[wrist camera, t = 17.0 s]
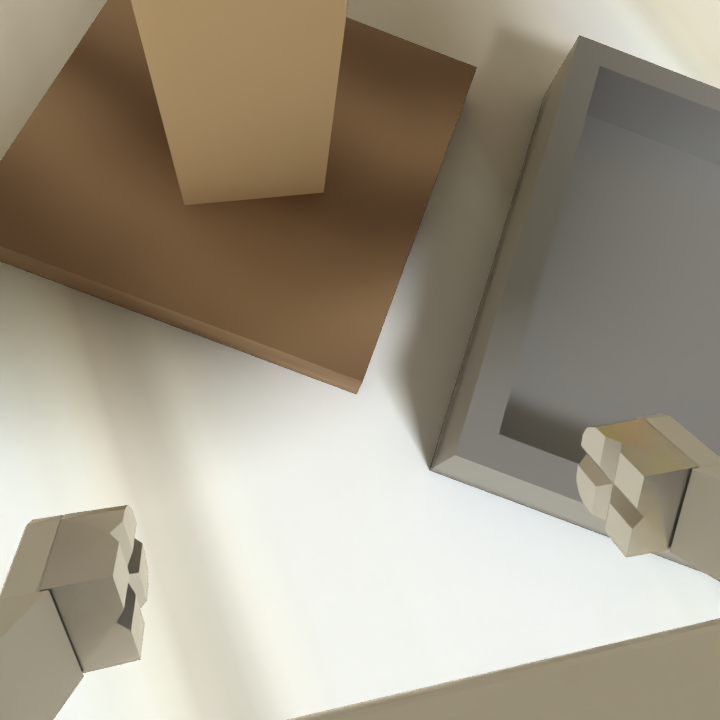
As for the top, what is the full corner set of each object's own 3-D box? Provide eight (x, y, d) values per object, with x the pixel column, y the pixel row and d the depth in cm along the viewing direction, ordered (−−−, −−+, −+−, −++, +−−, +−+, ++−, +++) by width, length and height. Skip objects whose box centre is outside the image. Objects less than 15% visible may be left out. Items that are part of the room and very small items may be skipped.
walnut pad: (155, -23, 24) (147, -59, 23) (465, 95, 24) (476, 67, 23) (-22, 252, 20) (-45, 229, 18) (356, 394, 20) (362, 381, 19)
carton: (170, 84, 21) (110, -182, 13) (301, 77, 22) (314, -179, 14) (184, 205, 20) (126, -16, 12) (323, 192, 20) (351, -22, 13)
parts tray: (544, 94, 25) (579, 35, 22) (843, 209, 25) (915, 164, 22) (429, 470, 20) (455, 455, 17) (808, 611, 20) (897, 620, 17)
